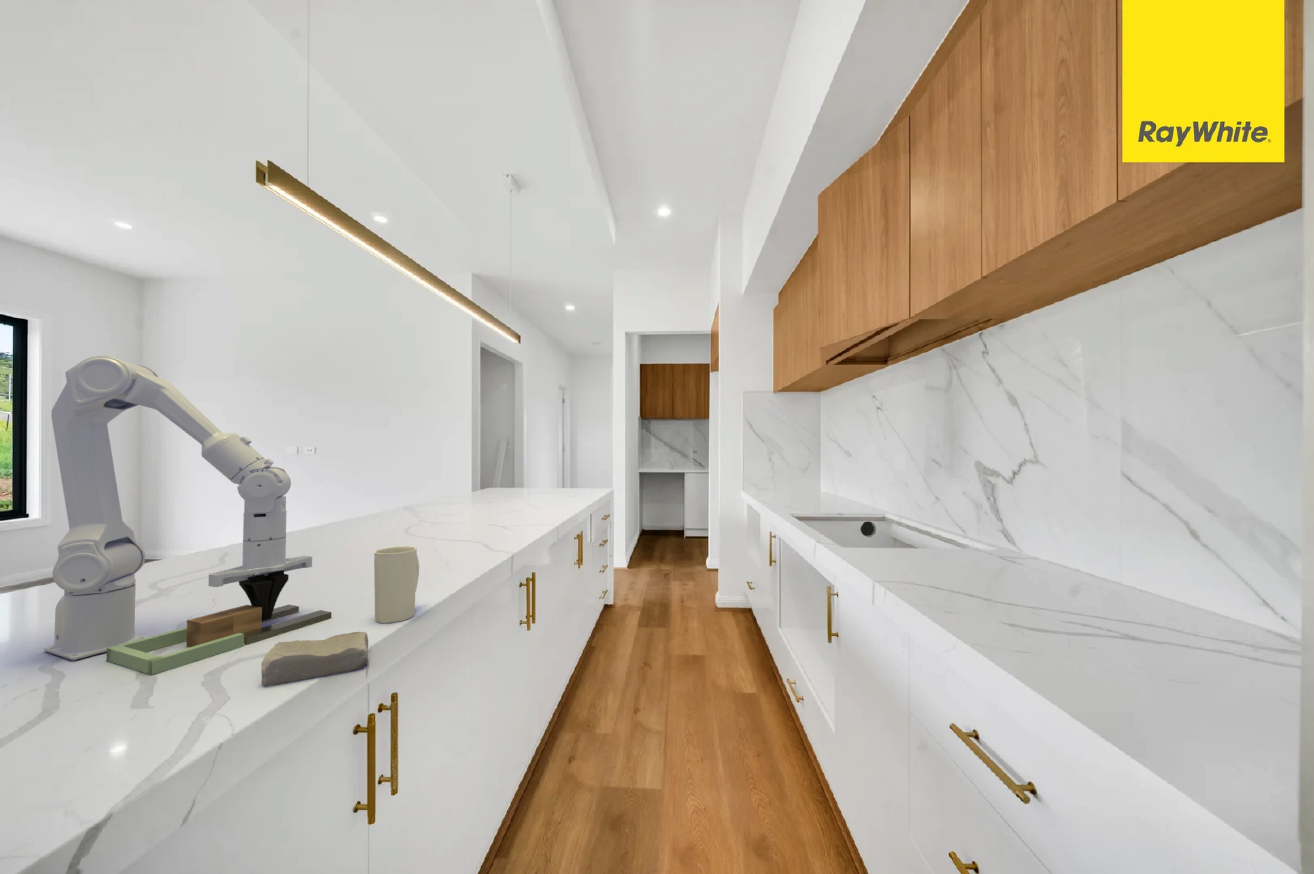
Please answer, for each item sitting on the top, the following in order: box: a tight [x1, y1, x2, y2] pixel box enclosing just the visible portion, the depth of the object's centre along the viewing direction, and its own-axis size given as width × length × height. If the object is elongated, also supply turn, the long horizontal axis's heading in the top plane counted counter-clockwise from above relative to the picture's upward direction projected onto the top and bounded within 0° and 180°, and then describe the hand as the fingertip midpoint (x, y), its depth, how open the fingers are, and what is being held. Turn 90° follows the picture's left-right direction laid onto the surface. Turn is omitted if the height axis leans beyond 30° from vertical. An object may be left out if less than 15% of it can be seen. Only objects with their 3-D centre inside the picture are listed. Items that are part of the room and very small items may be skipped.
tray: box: [105, 626, 245, 676], centre depth 72 cm, size 12×10×2 cm
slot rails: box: [242, 604, 332, 645], centre depth 83 cm, size 12×13×1 cm
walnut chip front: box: [186, 611, 234, 648], centre depth 75 cm, size 4×4×4 cm
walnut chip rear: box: [219, 604, 263, 635], centre depth 79 cm, size 4×4×4 cm
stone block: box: [260, 631, 369, 688], centre depth 68 cm, size 12×5×10 cm
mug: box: [373, 545, 420, 624], centre depth 89 cm, size 10×7×12 cm, turn 173°
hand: (263, 619), depth 82 cm, fingers closed
